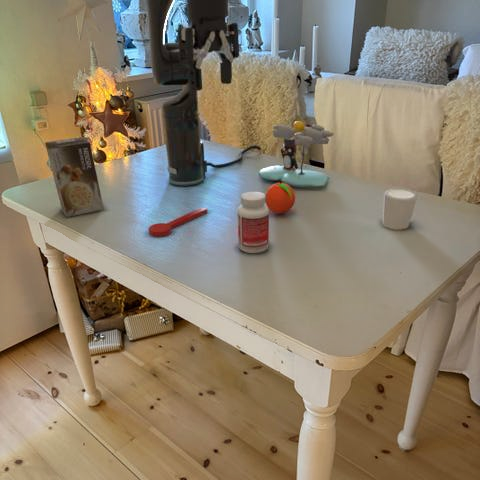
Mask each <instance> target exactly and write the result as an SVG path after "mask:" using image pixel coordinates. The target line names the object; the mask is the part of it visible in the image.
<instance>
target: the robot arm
mask: <svg viewBox="0 0 480 480" xmlns="http://www.w3.org/2000/svg"><path fill="white" fill-rule="evenodd" d="M145 1H146V8H147V9H146V10H147V18H148V21H147V22H148V35H149V52H150V54H149V55H150V66H151V73H152V77H153V80H154V83H155V84H156V85H157V86H158V87H176V86H177V87H178V86H179V87H180V86H182V89H181V91H180V92H178V93H177V94H176V95H174V96H173V97H172V98H170V99H167V100H165V101H164V102H163V103H162V105H161V112H162V120H163V131H164V138H165V139H164V140H165V141H164V142H165V148H166V150H165V151H166V158H167V160H166V161H167V166H166V167H167V172H168V181H169V183H170V184H171V185H173V186H179V187H190V186H195V185H196V186H197V185H199V184H201V183H203V181H204V180H205V179H206V173H207V172H208V166H209V167H211V168H214V169H216V168H225V167H229V166H233V165H235V164H237V163H240V162H241V161H242V160H243V154H245V153H247V152H248V151H250V150H253V149H256V150H258V151H261V150H262V148H261V146H259V145H255V144H254V145H250V146H248V147H247V148H245V149H243V150H241V151H240V152H239V153H238V158H237V159H235V160H232V161H229V162H225V163H219V164H214V163H212V162H208V161H207V159H205V149H204V148H205V147H204V143H203V142H202V140H201V139H202V137H201V127H200V126H201V125H200V124H201V123H200V108H199V91H202V90H203V76H202V75H203V74H202V68H201V66H202V64H203V61H204V59H205V58H206V57H207V56H208V53H213V52H214V53H216V55H217V56H218V58H219V60H220V61H221V62H220V63H219V65H220V66H219V67H220V69H219V71H220V83H221V84H223V85H229V84H232V79H233V74H232V73H233V71H232V70H233V66H232V65H233V62H234V60H235V59H238V58H240V44H239V24H238V23H237V22H227V21H226V19H227V18H228V17H230V0H186V6H187V17H188V18H189V19H190V20H191V26H190V27H184V26H183V27H178V31H177V32H178V34H177V35H178V42H165V31H166V25H167V20H168V17H169V14H170V11H171V9H172V7H173V4H174V2H175V0H145Z"/></svg>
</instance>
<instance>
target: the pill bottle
mask: <svg viewBox="0 0 480 480" xmlns="http://www.w3.org/2000/svg"><path fill="white" fill-rule="evenodd" d="M265 196H266V193H264V192H260V191H247V192H244V193H242V194H241V196H240V203H241V205H240V206H238V208H237V236H238V237H237V239H238V248H239V250H241V251H242V252H243V253H246V254H259V253H263V252H265V251H266V250H267V249H269V246H270V245H269V244H270V243H269V242H270V240H269V238H270V236H269V235H270V209H269V208H268V207H267V204H266V201H265Z"/></svg>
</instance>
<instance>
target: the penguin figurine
mask: <svg viewBox="0 0 480 480" xmlns="http://www.w3.org/2000/svg"><path fill="white" fill-rule="evenodd" d="M273 129H274V130H273V132H272V136H273V137H274V138H277V139H282V140H283V144H282V146H283V147H282V148H281V149H280V153H281V156H282V160H283V161H282V164H283V165H272V166H268V167H263V168H262V169H260V170H259V171H258V176H259V177H260V178H261V179H263V180H266V181H272V182H278V181H279V182H280V181H281V183H285V184H287V185H289V186H290V187H294V188H295V187H296V188H303V189H305V188H322V187H324V186H326V185H327V184H328V181H329V180H330V176H329V175H327V174H325V173H323V172H320V171H314V170H310V169H307V168H309V166H310V162H308V163H306V165H305V169H303V165H304V164H305V162H304V160H305V155H306V156H308V154H309V152H308V151H307V150H306V149H307V148H308V149H309V148H310V147H311V145H312V144H313V145H316V144H319V145H328V144H329V143H330V137H333V136H334V132H333V131H330V130H326V129H325V127H324V126H322V125H320V124H312V125H311V126H306V125H305V123H304V122H303V121H301V120H297V121H295V122H294V123H293V127H292V126H290V125H287V124H284V125H283V124H277V123H276V124H274V125H273ZM293 135H294V137H293ZM295 139H296V140H295ZM296 146H297V147H298V148H296ZM301 147H302V149H301ZM297 150H299V151H298V153H299V154H300V155H301V156H300V158H296V155H295V154H296V151H297ZM271 154H272V155H274V152H273V151H272V152H271ZM299 160H301V163H299V164H298V162H299ZM312 160H316V158H315V157H314V156H313V157H312ZM298 165H299V166H300V167H299V166H298Z"/></svg>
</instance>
